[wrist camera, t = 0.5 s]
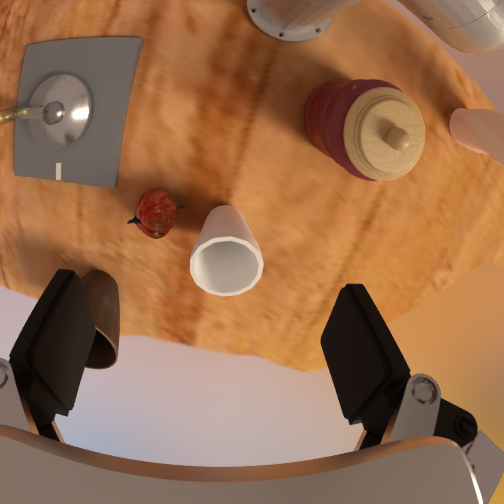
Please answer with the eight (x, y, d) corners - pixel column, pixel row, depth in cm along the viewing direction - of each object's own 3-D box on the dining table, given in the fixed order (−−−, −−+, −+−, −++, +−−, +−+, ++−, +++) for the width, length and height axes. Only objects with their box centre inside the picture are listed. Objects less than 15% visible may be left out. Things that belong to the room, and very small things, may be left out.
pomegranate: (178, 177, 44) (122, 184, 37) (201, 200, 40) (138, 210, 34) (171, 214, 48) (119, 224, 41) (191, 239, 45) (135, 253, 38)
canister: (298, 153, 41) (340, 194, 26) (305, 73, 34) (357, 66, 19) (370, 161, 43) (433, 203, 28) (381, 88, 36) (455, 100, 21)
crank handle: (100, 73, 29) (70, 73, 22) (88, 149, 35) (60, 166, 28) (22, 77, 26) (-12, 82, 18) (16, 144, 32) (-16, 160, 24)
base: (30, 45, 24) (25, 45, 22) (144, 39, 29) (141, 37, 27) (17, 172, 36) (12, 175, 34) (117, 185, 41) (113, 189, 39)
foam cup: (199, 193, 43) (191, 232, 32) (257, 199, 45) (269, 239, 34) (195, 244, 48) (189, 293, 37) (248, 248, 50) (255, 298, 39)
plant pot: (148, 281, 52) (130, 345, 38) (119, 320, 57) (102, 378, 44) (84, 241, 45) (47, 297, 32) (64, 287, 51) (36, 341, 37)
